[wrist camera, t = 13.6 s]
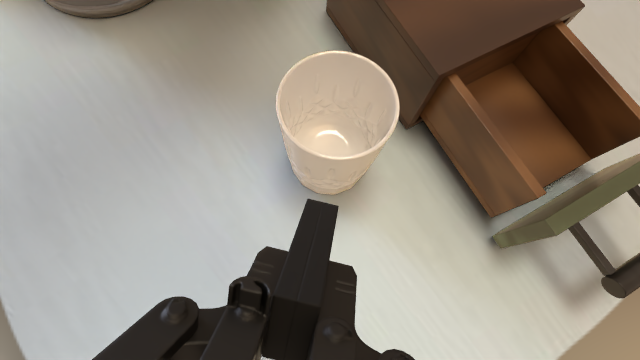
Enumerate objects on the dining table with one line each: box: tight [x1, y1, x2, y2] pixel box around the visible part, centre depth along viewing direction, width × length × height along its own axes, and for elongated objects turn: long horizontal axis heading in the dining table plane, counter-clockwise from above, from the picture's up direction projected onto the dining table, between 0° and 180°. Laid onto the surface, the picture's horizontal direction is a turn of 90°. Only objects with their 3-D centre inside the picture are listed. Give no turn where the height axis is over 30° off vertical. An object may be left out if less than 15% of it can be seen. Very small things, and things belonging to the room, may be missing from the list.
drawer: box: [420, 21, 640, 298], centre depth 28 cm, size 20×13×7 cm, turn 29°
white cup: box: [276, 51, 400, 195], centre depth 27 cm, size 8×8×10 cm
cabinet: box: [326, 0, 585, 129], centre depth 32 cm, size 16×14×9 cm
